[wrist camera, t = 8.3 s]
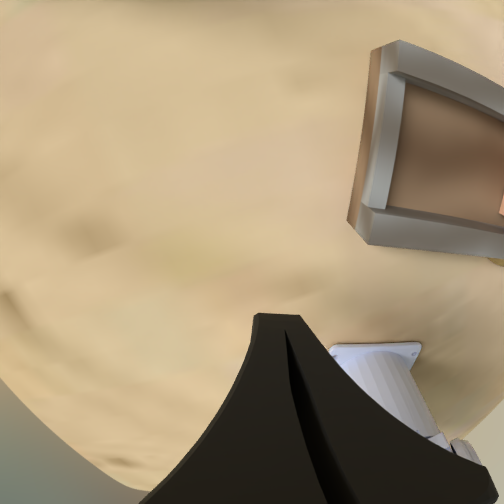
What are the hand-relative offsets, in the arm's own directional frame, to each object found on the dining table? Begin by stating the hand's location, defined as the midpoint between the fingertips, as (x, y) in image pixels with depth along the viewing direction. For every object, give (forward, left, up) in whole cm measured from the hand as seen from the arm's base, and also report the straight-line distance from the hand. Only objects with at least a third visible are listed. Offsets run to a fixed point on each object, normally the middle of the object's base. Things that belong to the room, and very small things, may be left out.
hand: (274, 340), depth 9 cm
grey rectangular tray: (+6, -18, -9) cm, 21 cm away
